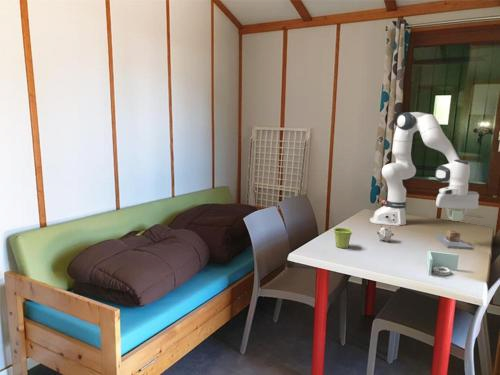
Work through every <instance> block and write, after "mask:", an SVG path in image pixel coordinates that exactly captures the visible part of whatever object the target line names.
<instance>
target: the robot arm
mask: <svg viewBox="0 0 500 375" xmlns="http://www.w3.org/2000/svg"><path fill="white" fill-rule="evenodd" d="M396 125H397V126H396V128H395V132H394V134H393V141H392V148H391V149H392V150H391V153H392V155H393V156H394V158H395V162H390V163H388V164H385V165H383V167H382V168H381V176H382V178H384V180H385V181H386V184H387V199H386V200H385V199H383V200H382V201H381V203H383V206H381V207H379V208H377V209H376V210H375V211H374V214H373V216H372V217H370V218H369V222H371V223H372V224H375V225H376V224H377V225H386V226H394V227H395V226H397V227H400V226H403V225H406V224H407V220H406V209H407V201H406V200H407V188H406V187H405V186H404V183H403V180H408V179H411V178H413V177H415V175H416V173H417V168H416V166H415V165H414V164H413V163H414V162H413V160H412V147H413V145H412V144H413V137H414V134H415V133H416V132H418V133H419V134H420V136H421V139H422V142H423V144H424V145H425V146H426V147H428V148H430V149H434V150H436V151H438V152H440V153H442V154H443V155H444V156H445V157H446V159H447V161H448V163H446V164H441V165H439V166H438V167H437V168H436V169H435V172H434V176H435V179H436V181H438V182H440V183H448V186H446V187H442V188H439V189H438V192H439V193H438V194H437V196H436V201H435V206H436V207H437V208H442V209H445V211H446V213H447V214H446V216H447V217H449V216H451V215H452V213H450V212H449V210H450V209H459V210H462V211H463V218H464V217H465V214H466V213H467V212H468V210H477V209H478V208H479V199H480V194H479V193H478V192H477V191H470V190H469V179H470V174H471V167H470V166H471V165H470V162H468V161H467V160H463V159H461V157H460V155H459V153H458V152H457V149H456V148H455V146H454V144H453V142H452V141H451V140H450V139H448V137H447V136H446V135H445V133H444V131H443V129H442V127H441V125H440V123H439V120H438V119H437V118H436V116H435V115H434V114H431V113H428V112H427V113H426V112H420V111H414V112H413V111H411V112H408V111H407V112H402V113H400V114H399V115H398V116H397V119H396Z"/></svg>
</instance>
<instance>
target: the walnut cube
mask: <svg viewBox="0 0 500 375" xmlns="http://www.w3.org/2000/svg"><path fill="white" fill-rule="evenodd" d="M445 236H446V239H447V240H448V241H449V242H460V239H461V232H460V231H458V230H451V229H450V230H448V229H447V230H446V235H445Z"/></svg>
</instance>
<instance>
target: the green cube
mask: <svg viewBox="0 0 500 375" xmlns="http://www.w3.org/2000/svg"><path fill="white" fill-rule="evenodd" d="M463 211H464V210H462V209H460V208H450V210H449V212H450V213H452V215H451V216H448V219H450V220H451V221H457V222H458V221H459V222H461V221H463V218H464V217H463Z"/></svg>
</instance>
